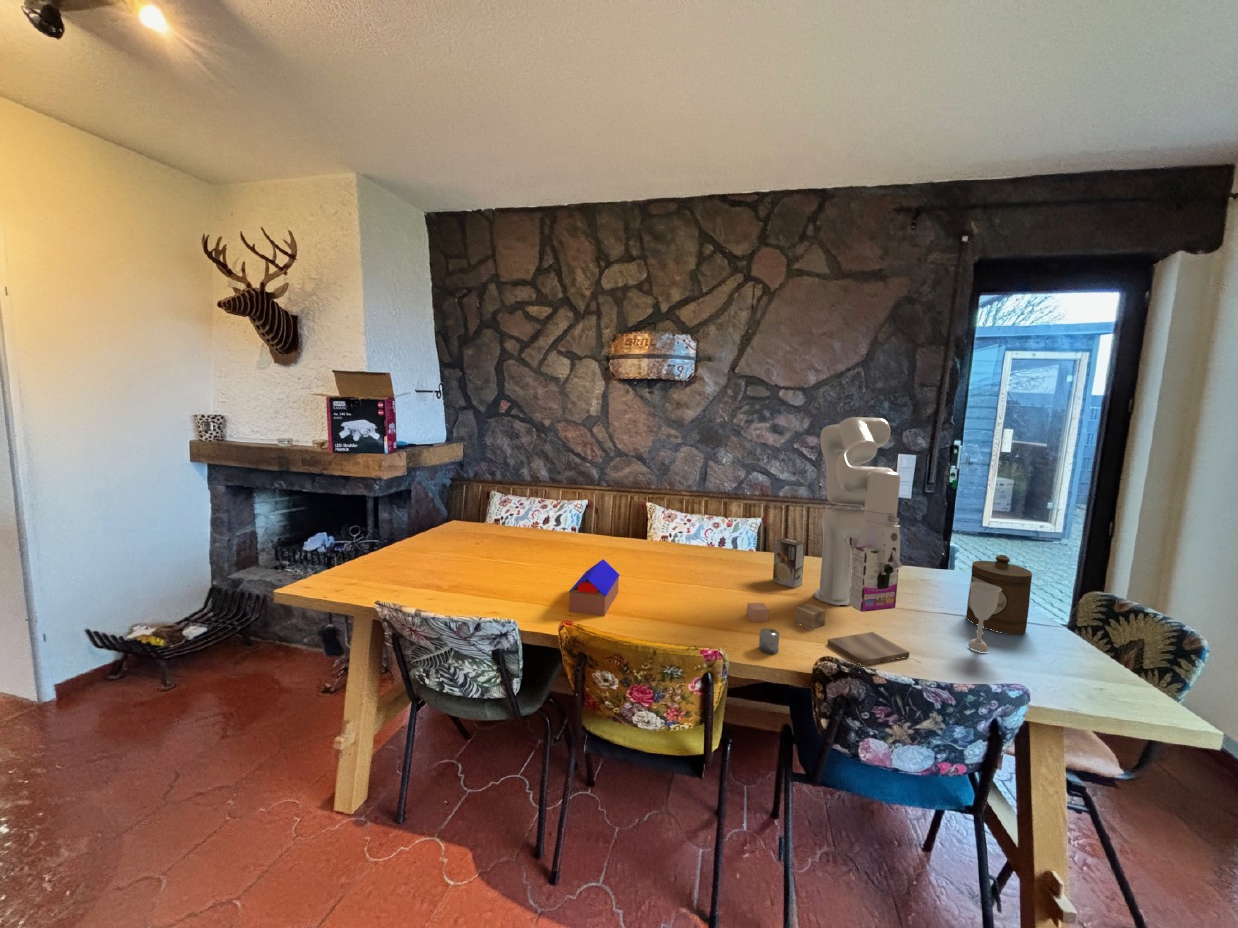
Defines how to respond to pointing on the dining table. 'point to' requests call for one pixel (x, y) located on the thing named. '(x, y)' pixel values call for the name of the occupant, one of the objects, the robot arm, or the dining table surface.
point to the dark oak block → (810, 616)
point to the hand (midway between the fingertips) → (873, 583)
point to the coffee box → (788, 562)
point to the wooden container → (1004, 594)
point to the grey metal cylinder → (769, 641)
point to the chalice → (982, 609)
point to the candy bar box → (870, 582)
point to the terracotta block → (757, 612)
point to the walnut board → (867, 648)
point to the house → (594, 590)
